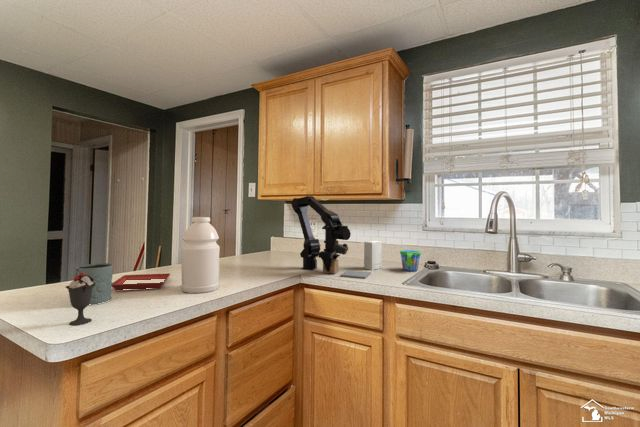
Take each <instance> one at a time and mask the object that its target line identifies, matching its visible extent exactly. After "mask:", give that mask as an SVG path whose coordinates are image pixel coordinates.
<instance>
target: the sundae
mask: <svg viewBox="0 0 640 427" xmlns="http://www.w3.org/2000/svg"><path fill="white" fill-rule="evenodd" d="M76 270H77V271H78V269H76V268H75V273H76V274H75V276H74V277H73V279H72V281H71V282H70V283H69V285H66V286H65V288H66V289H67V290H68V295H69V301H70V305H71V307H72V308H74V309H75V310H77V318H76V319H74V320H72V321H70V322H69V323H68V324H69V325H70V326H80V324H82V325H86V324H89V323H91V322H92V321H93V319H91V317H90V318H88V317H85V314H84V310H85V308H87V307H88V306H90V305H89V303H90V300H91V294H92V288H93V287H94V286H95V284H96V283H93V280H94V279H93V278H92V277H90V276H87V275H85V274H84V273H81V274H80V275H79V276H77V272H76ZM78 272H79V271H78ZM79 273H80V272H79ZM88 322H89V323H88ZM85 323H86V324H85Z"/></svg>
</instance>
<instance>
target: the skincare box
mask: <svg viewBox="0 0 640 427" xmlns="http://www.w3.org/2000/svg"><path fill="white" fill-rule="evenodd" d="M363 245H364V246H363V247H364V248H363V249H364V250H363V251H364V252H363V255H364V256H363V258H364V259H363V268H364V269H365V270H367V271H368V270H369V271H374V270H379V269H382V268H383V267H382V263H383V262H382V261H383V260H382V259H383V255H382V254H383V241H380V240H368V241H364V244H363Z"/></svg>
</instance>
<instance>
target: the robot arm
mask: <svg viewBox="0 0 640 427" xmlns="http://www.w3.org/2000/svg"><path fill="white" fill-rule="evenodd" d="M290 204H291V207H292V209H293V211H294V213H295V214H296V215H297V216H298V221H299V223H300V227H301V231H302V235H303V238H304V242H303V249H302V250H301V252H300V258H302V267H301V269H302V270H309V271H313V270H315V269H318V260H317V257H318V258H320V259H321V261H322V264H323V263H324V265H325V267H326V269H327V271H330V266H331V260H332V259H337V258H339V257H340V256H341V255H347V253H348V251H349V247H348V243H343V244H340V243H339V240H342V241H348V240H350V238H351V235H352V234H351V230H350V229H349V225H344V224H343V223H342V221H341V219H340V216H339V214H337V213H336V212H334V211H332V210H330V209H328V208H326V207H325V206H324V205H323V204H322V203H321V202H319V201H318V200H317V199H316V198H315V196H313V195H306V196H303V197H295V198H293V199H292V201H291V203H290ZM309 207H310V208H311V209H312V210H313V211H314V212H316V213H317V214H318V215H319V216H320V219H321V221H322V222H323V224H324V225H323V226H322V228H321V229H322V230H325V233H324V234H325V236H324V240H323V243H324V246H325V247H324V248H323V250H322V251H321V247H322V246H321V244H320V240H319V238H315V237H314V234H313V230H312V227H311V223H310V220H309V216H308V209H309ZM337 260H338V259H337Z"/></svg>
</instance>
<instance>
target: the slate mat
mask: <svg viewBox="0 0 640 427" xmlns="http://www.w3.org/2000/svg"><path fill="white" fill-rule="evenodd" d="M371 274H372V271H358V270H346V271H344V272H342V273H341V274H340V275H339V276H340V277H341V278H342V277H343V278H353V279H364V280H365V279H368V278H369V276H370V275H371Z"/></svg>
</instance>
